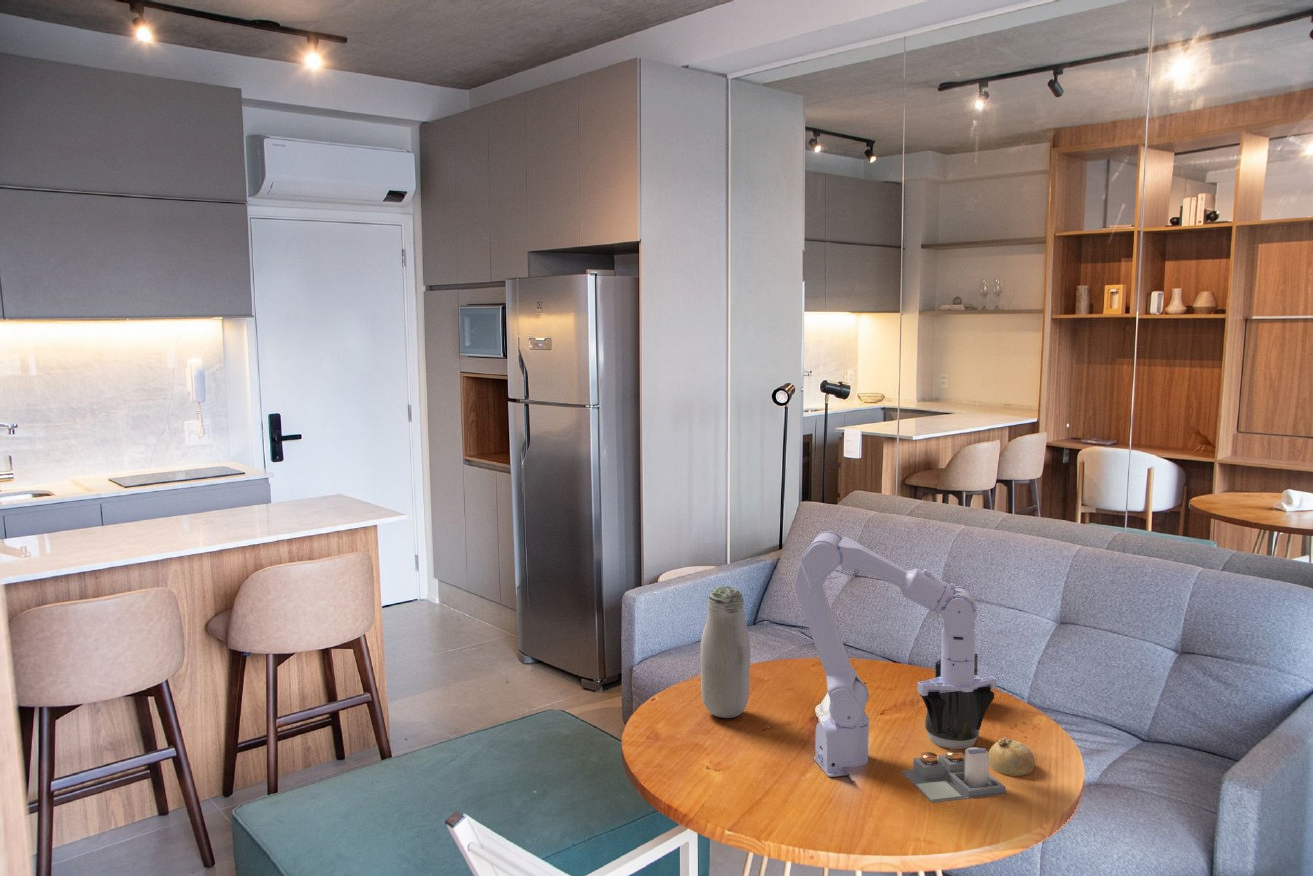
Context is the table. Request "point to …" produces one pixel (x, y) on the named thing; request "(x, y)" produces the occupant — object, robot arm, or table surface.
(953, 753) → the plunger
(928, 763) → the plunger
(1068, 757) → the table surface
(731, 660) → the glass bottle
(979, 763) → the disc
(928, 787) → the housing
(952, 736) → the pump dispenser
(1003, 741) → the onion
